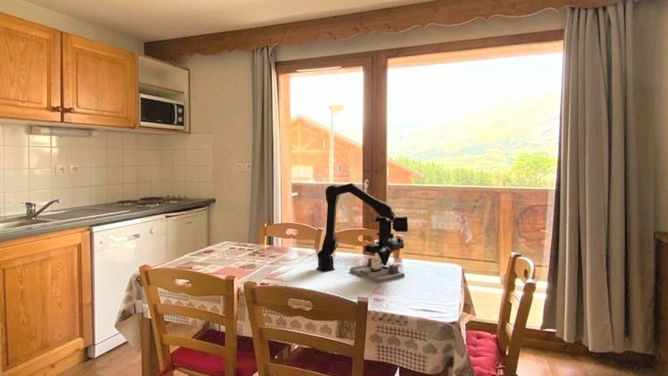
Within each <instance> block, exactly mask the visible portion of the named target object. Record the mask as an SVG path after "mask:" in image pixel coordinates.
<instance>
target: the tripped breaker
mask: <svg viewBox="0 0 668 376" xmlns="http://www.w3.org/2000/svg"><path fill="white" fill-rule="evenodd" d="M380 266H381V262H380V261H379V260H376V259H375V260H371V268H370V270H371V271H374V272H379V271H381V268H380Z"/></svg>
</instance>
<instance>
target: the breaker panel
mask: <svg viewBox="0 0 668 376" xmlns="http://www.w3.org/2000/svg"><path fill="white" fill-rule="evenodd" d="M371 260H375V257H368V259H367V261H368V263H366V264H362V265H357V266H351V267H350V269H349V273H351V274H354V275H356V276H359V277H362V278H364V279H366V280H369V281H372V282H375V283H377V284H380V283H384V282H389V281H394V280H397V279H401V278H405V272H401V271H399V266H398V265H396V264H389V265H388V266H387V265H380V268H381V271H379V272H374V271H371V270H370V268H371ZM376 260H377V259H376Z"/></svg>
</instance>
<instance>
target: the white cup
mask: <svg viewBox="0 0 668 376" xmlns="http://www.w3.org/2000/svg"><path fill="white" fill-rule="evenodd" d="M377 242H379V238H377V239H375V240H374V243H373V244H374V245H378V244H377ZM374 255H375V257H374V258H375V259H377V260H379V261H380V263H382V261H381V259H380V257H379V255H378V253H374ZM389 260H390V258H389V259H388V261H389ZM388 261H387V262H388Z"/></svg>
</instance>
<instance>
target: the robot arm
mask: <svg viewBox="0 0 668 376" xmlns="http://www.w3.org/2000/svg"><path fill="white" fill-rule="evenodd" d="M347 193H350V194H352V195H353V196H355V197H356V198H358V199H360V200H361V201H362V202H364V203H366V204H367V205H368V206H370V207H371V208H372V209H373V211H375V212H376V214H378V215H377V217H376V218H374V222H378V232H377V233H376V236H378V239H379V242H377V244H378V245H375V243H371V244H366V245H365V246H364V252H367V253H370V254H375V253H378V255H379V257H380V259H381V261H382V262H381V264H382V266H387V264H388V259H389V260H390V257H391V254H392V253H393V252H395V251H400V249H401V250H402V249H404V248H405V244H404V239H403V238H402V237H397V238H395V237H394V233H392V230H393V231H394V232H399V233H408V232H409V220H408V219H409V218H408V216H396V214H395V213H394V212H393V210H392V209H393V208H392V205H391V204H390V203H387V202H385V201H383V200H380V199H378V198H375V197H374V196H372V195H371V194H369V193H367V192H366V191H365V190H364V189H362V188H360V187H358V186H357V185H356V184H355V183H354V182H351V183H347V184H343V185H337V184H331V185H329V186H327V188H325V201H326V204H327V207H326V208H327V210H326V226H325V236H324V239H323V242H322V246H321V250H320V251H319V252H318V253H317V254H316V255H317V256H316V257H317V267H316V269H317V270H318V271H321V272H330V271H335V268H334V258H333V253H334V252H335V251H336V250H337V249H338V247H339V243H338V242H339V237H336V224H337V223H336V221H337V206H338V202H339V199H340V195H342V194H347Z"/></svg>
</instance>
